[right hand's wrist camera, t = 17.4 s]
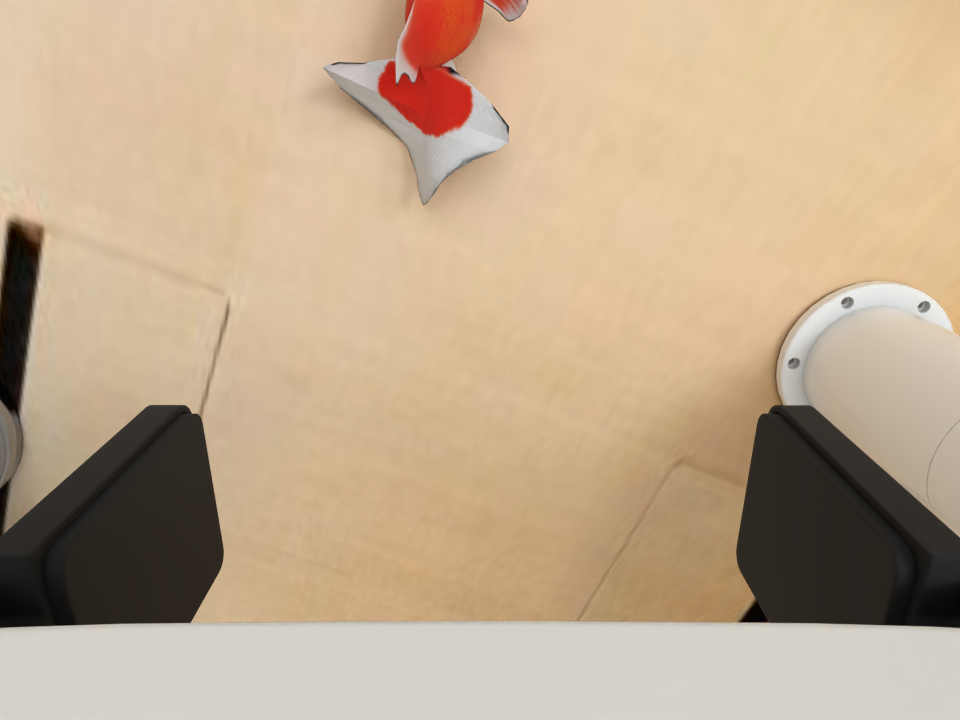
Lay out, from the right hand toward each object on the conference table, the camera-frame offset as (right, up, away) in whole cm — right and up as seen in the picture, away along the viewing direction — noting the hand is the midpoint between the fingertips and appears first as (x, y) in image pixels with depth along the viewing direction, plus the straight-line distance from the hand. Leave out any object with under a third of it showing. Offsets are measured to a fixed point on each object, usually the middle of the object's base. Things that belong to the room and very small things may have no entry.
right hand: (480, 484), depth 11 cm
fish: (-2, +20, +31) cm, 38 cm away
